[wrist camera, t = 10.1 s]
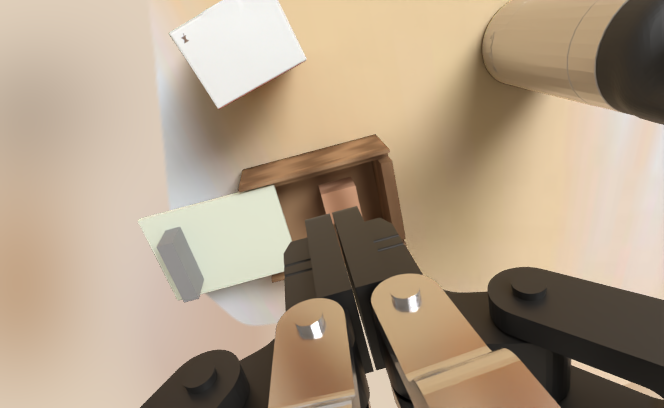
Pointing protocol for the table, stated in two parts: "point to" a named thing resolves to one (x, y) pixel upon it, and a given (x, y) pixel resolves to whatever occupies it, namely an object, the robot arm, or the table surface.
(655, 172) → the table surface
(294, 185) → the walnut box
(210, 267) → the cover plate
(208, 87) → the small box
